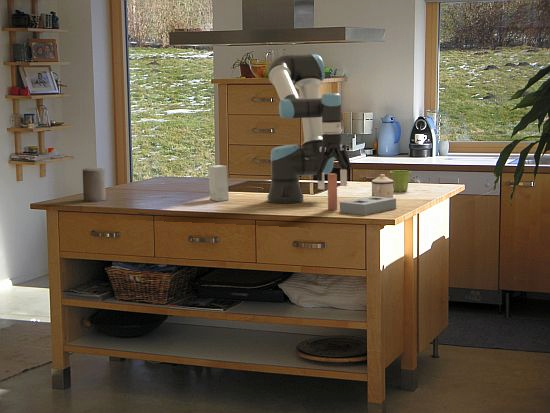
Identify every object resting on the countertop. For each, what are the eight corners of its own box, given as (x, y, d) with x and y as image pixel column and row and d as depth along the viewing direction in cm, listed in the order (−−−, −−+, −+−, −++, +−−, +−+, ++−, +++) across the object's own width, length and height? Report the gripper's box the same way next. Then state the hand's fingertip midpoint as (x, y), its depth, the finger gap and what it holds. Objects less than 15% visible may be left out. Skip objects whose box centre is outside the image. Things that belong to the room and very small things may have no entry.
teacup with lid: (375, 200, 395) (375, 172, 394) (396, 201, 392) (396, 173, 390) (366, 204, 384) (366, 176, 383) (387, 205, 381) (387, 176, 379)
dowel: (326, 209, 374) (325, 174, 371) (332, 208, 376) (331, 173, 374) (333, 210, 371) (332, 174, 369) (339, 209, 374) (338, 173, 372)
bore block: (339, 212, 366) (339, 202, 365) (371, 206, 380) (371, 196, 380) (364, 215, 358) (364, 204, 357) (396, 208, 372) (396, 198, 371)
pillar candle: (79, 201, 412) (77, 166, 410) (91, 198, 421) (90, 164, 419) (98, 202, 409) (97, 167, 406) (110, 199, 418) (109, 165, 415)
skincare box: (229, 200, 404) (228, 165, 402) (215, 201, 402) (214, 166, 400) (221, 198, 412) (220, 164, 410) (208, 199, 409) (207, 165, 407)
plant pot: (410, 189, 428) (410, 170, 427) (411, 192, 419) (411, 172, 418) (389, 189, 429) (389, 170, 428) (390, 192, 420) (390, 172, 418)
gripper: (317, 135, 358) (318, 191, 360) (359, 131, 375) (360, 185, 378) (303, 134, 363) (304, 190, 366) (344, 131, 381) (345, 183, 383)
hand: (332, 187), depth 372 cm, fingers open, 13 cm apart
